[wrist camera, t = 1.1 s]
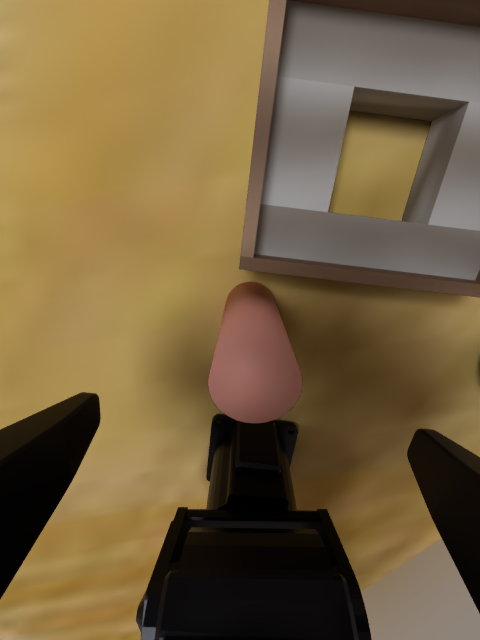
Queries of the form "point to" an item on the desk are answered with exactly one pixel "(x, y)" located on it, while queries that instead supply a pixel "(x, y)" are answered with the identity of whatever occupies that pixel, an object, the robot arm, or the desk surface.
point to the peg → (253, 359)
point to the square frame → (328, 132)
